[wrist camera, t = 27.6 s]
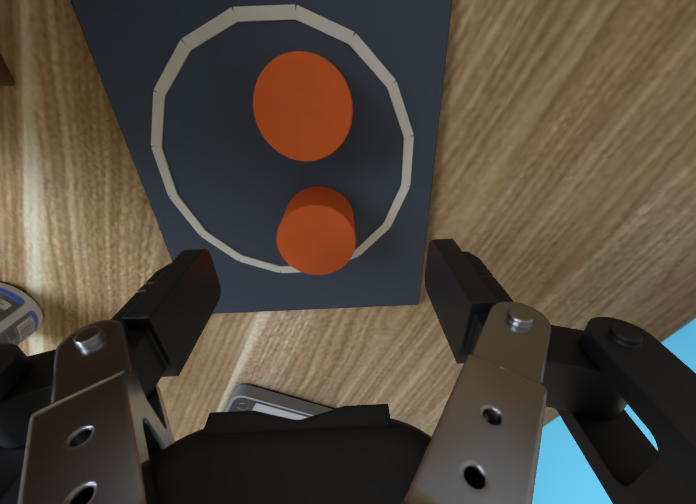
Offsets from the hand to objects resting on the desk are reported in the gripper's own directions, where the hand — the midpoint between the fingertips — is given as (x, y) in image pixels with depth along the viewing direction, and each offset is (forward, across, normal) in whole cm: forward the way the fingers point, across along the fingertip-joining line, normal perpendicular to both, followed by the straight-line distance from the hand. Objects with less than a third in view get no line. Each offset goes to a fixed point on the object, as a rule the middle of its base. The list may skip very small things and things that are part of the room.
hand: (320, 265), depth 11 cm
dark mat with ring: (+7, +2, -2) cm, 8 cm away
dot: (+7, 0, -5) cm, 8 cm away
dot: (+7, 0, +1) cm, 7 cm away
